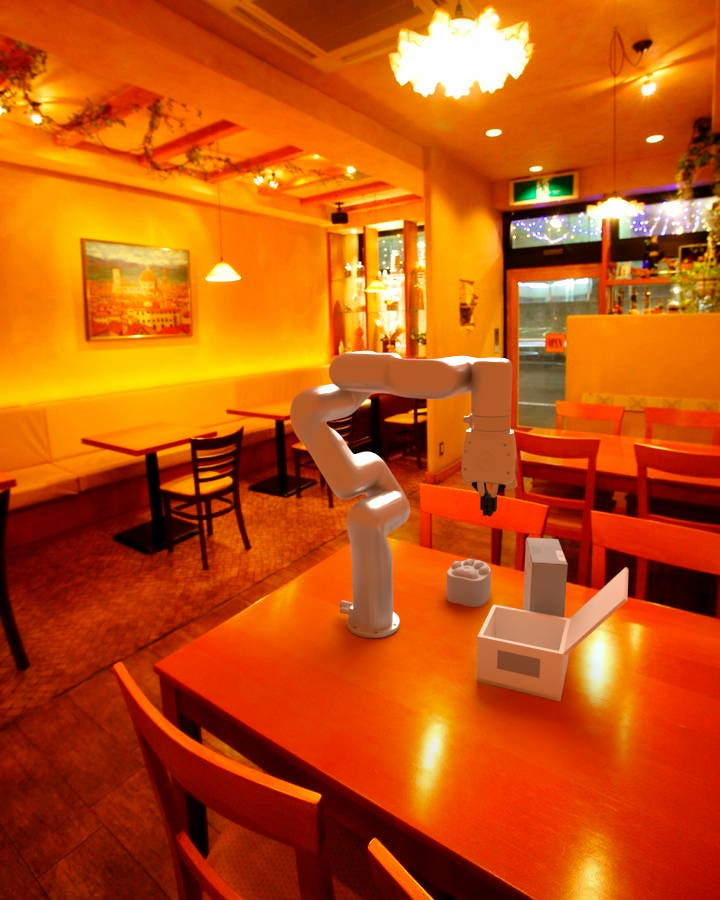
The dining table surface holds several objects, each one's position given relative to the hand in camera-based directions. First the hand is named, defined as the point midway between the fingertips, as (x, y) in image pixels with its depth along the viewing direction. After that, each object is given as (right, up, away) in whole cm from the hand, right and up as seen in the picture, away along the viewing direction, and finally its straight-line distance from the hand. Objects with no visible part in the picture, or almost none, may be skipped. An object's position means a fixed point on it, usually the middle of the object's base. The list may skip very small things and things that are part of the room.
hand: (488, 514), depth 114 cm
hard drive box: (+17, -29, +19) cm, 39 cm away
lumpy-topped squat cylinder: (+4, -26, +38) cm, 46 cm away
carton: (+8, -33, +4) cm, 34 cm away
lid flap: (+19, -18, -5) cm, 26 cm away
